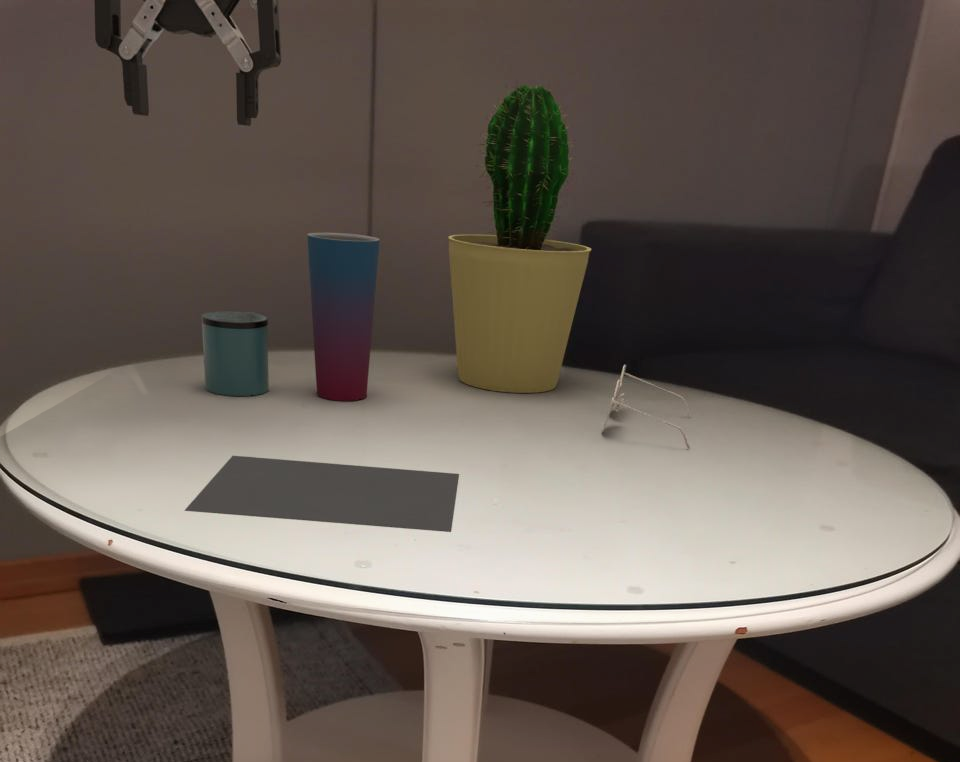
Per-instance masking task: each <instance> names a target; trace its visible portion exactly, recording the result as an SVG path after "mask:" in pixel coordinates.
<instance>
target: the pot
mask: <svg viewBox="0 0 960 762" xmlns="http://www.w3.org/2000/svg"><path fill="white" fill-rule="evenodd" d="M200 318H201V319H200V321H201V327H202V330H201V332H202V346H203V347H202V348H203V349H202V350H203V366H204V387H205V390H206V391H208V392H210V393H213V394H216V395H222V396H228V397H252V396H251V395H253V396H258V395H259V394H260V395H263V394H266V393H267V392H269V388H270V387H269V385H270V383H269V342H268V338H269V337H268V325H269V320H268V317H267V316H265V315H262V314H259V313H258V312H257V311H253V310H252V311H249V312H248V311H247V312H246V311H231V310H229V311H228V310H227V311H226V310H224V311H223V310H222V311H210V312H205V313H202V314H201V315H200Z"/></svg>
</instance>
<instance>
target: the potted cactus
mask: <svg viewBox="0 0 960 762" xmlns="http://www.w3.org/2000/svg"><path fill="white" fill-rule="evenodd" d="M515 80H516V83H518V81H517V79H515ZM548 82H550V79H549V81H548ZM516 83H513V84H514V85H513V86H514V87H513V88H514V91H512V92H511V93H510V92H509V89H508V87H507V86H506V85H505V88H506V92H507V95H508V96H506V97H504V98H502V97H501V95H500V94H498V96H497V99H498V101H499V103H500V105H499V106H496V105H495V104H494V103H492V105H494V107H495V108H497V109H496V112H495V113H494V114H493V113H491V112H490V111H488V110H487V111H488V113H489V115H491V118H490V117H489V115H488V114H486V115H487V116H486V115H485V118H486V119H485V118H484V121H485V122H486V123H487V124H488V125H487V132H485V131H483V133H479V132H478V134H479V135H480V136H482V137H483V138H486V139H485V141H484V143H479V145H481V146H477V147H478V148H482V149H485V150H478V152H479V153H480V152H481V154H482V155H481V154H480V155H479V156H478V157H484V162H483V163H479V164H477V165H476V168H479V167H482V166H483V168H481V170H483V171H484V172H483V173H482V174H481V175H480V177H483V178H485V179H487V178H488V180H490V181H491V182H490V183H489V186H487V189H488V190H490V188H491V187H492V189H493V190H492V199H491V200H489V201H484V202H481V203H485V204H486V205H485V207H486V208H487V207H488V206H491V205H492V203H493V208H492V209H493V218H489V219H488V220H494V222H491V223H490V224H489V225H493V224H494V227H495V228H494V229H492V230H491V231H490V232H487V234H453V235H449V236H448V237H447V238H448V257H449V258H448V259H449V267H450V268H449V271H450V281H451V295H452V309H453V323H454V325H453V326H454V336H455V337H454V339H455V350H456V353H455V354H456V365H457V366H456V367H457V374H458V375H457V376H458V380H459V381H461V382H462V383H463V384H466V385H468V386H472V387H474V388H479V389H483V390H487V391H493V392H501V393H512V394H514V393H516V394H517V393H519V394H531V393H532V394H535V393H544V392H548V391H552V390H554V389H556V388H557V385H558V382H559V377H560V374H561V369H562V365H563V361H564V358H565V353H566V349H567V345H568V341H569V337H570V333H571V330H572V326H573V321H574V318H575V317H574V316H575V314H576V309H577V306H578V302H579V298H580V294H581V290H582V287H583V282H584V279H585V275H586V271H587V267H588V263H589V258H590V253H591V252H592V248H591V247H588V246H586V245H582V244H577V243H572V242H566V241H558V240H552V239H548V238H547V236H549V234H548V233H549V232H550V233H551V234H553V235H554V236H555V237H557V235H556V234H554V233H555V232H556V233H557V231H555V229H553V228H551V226H553V227H556V228H557V226H555V225H554V224H553V222H557V223H560V224H561V222H558V221H557V220H556V219H554V218H560V217H559V216H556V215H555V214H556V213H557V211H556V209H558V208H559V209H562V207H561V206H559V205H558V201H559V198H561V197H564V196H563V195H566V197H567V198H569V196H568V195H567V194H566V193H567V189H566V188H565V187H564V186H563V185H564V183H565V182H568V180H567V179H569V180H570V181H572V182H574V180H572V179H573V177H571V176H570V175H572V176H574V173H573V172H571V173H570V172H569V171H570V169H569V163H570V162H571V161H572V160H573V159H574V158H576V157H578V155H575V156H573V157H570V158H569V153H570V150H569V148H573V147H576V146H577V144H575V143H573V142H574V141H575V142H576V140H577V139H574V140H572V141H569V140H568V139H569V137H568V133H569V132H570V130H567V129H568V128H570V126H572V125H573V123H571V124H570V125H567V127H566V124H565V122H564V121H563V120H562V119H563V118H565V117H567V116H569V115H573V114H574V113H570V114H569V113H566V114H562V112H564V111H566V110H568V109H569V107H568V106H567V107H565V108H564V107H563V104H560V105H559V104H558V103H557V102H556V100H557V99H558V97H555V99H554V93H555V91H556V90H553V91H551V89H552V88H553V86H550V84H547V86H546V87H547V88H544V86H542V85H539V86H538V85H537V83H535V84H536V87H535V85H532V87H530V86H529V85H527V84H523V85H520V87H517V85H516ZM562 108H563V109H562ZM567 119H568V118H567ZM567 119H566V120H567ZM484 134H485V135H487V136H485V135H484ZM571 143H573V144H571ZM569 144H570V145H569ZM484 153H485V154H484ZM483 154H484V155H483ZM484 182H485V183H486V182H487V180H485V181H484ZM568 185H570V183H568ZM560 191H562V192H563V193H562V192H560ZM565 192H566V193H565ZM559 196H561V197H559ZM487 203H489V204H488V205H487ZM494 230H496V231H495V232H496V235H495V234H494V235H493V234H491V233H492V232H494ZM553 232H554V233H553ZM488 233H490V234H488Z"/></svg>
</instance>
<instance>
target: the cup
mask: <svg viewBox="0 0 960 762" xmlns="http://www.w3.org/2000/svg"><path fill="white" fill-rule="evenodd" d="M306 236H307V237H306V238H307V239H306V240H307V254H308V255H307V256H308V267H309V268H308V270H309V285H310V302H311V303H310V304H311V321H312V335H313V337H312V338H313V351H314V368H315V383H316V385H315V386H316V387H315V388H316V395H317V396H318V397H320V398H321V399H325V400H330V401H336V402H354V401H360V400H359V399H361V400H364V399H365V397H366V398H367V397H368V384H369V383H368V382H369V372H370V370H369V369H370V360H371V359H370V358H371V348H372V347H371V346H372V337H373V336H372V335H373V325H374V311H375V300H376V299H375V298H376V287H377V276H378V264H379V263H378V262H379V253H380V251H379V249H380V238H378V237H375V236H369V235H364V234H363V235H362V234H356V233H355V234H354V233H344V232H310V233H307V235H306ZM363 398H364V399H363Z"/></svg>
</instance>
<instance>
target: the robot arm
mask: <svg viewBox="0 0 960 762" xmlns="http://www.w3.org/2000/svg"><path fill="white" fill-rule="evenodd" d="M142 1H143V3H142V6H141V7H140V9H139V10H138V12H137V13H136V15H135V16H134V18H133V20H132V21H131V26H130V28H129V30H128V31H127V33H126V35H125V37H124V38H123V37H122V25H121V23H122V20H121V18H122V17H121V16H122V15H121V14H122V13H121V10H122V9H121V0H94V31H95V32H94V36H95V37H94V39H95V40H94V41H95V43H96V45H97V46H98V47H99V48H100V49H104V50H106V51H108V52H110V53H112V54H114V55H116V56H117V57H118V58H119V60H120V61H121V67H122V81H123V98H124V101H125V104H126V106H128V107H131V111H132V114H133V115H135V116H145V117H148V116H149V113H150V106H149V87H148V69H147V67H148V66H147V64H144V63H143V62H144V61H143V60H144V58H145V56H146V55H147V53H148V52H149V50H150V49H151V47H152V46H153V44H154V43H155V42H157V40H158V39H159V38H160V37H161V36H162V34H163V32H164V30H165V31H166V32H169V33H170V34H175V35H187V34H191V33H192V34H196V35H198V36H200V37H204V38H213V36H216V35H217V36H218V39H219V40H220V42H222V44H223V46H224V47H225V48H226V49H227V50H228V52H229V54H230V55H231V57H232V59H233V60H234V62H235V63H236V65H237V66H238V68H239V69H238V70H239V72H235V85H236V87H235V88H236V89H235V90H236V92H235V93H236V122H237V125H238V126H246V127H247V126H249V127H251V125H252V119H257V117H258V115H259V77H260V75H261V73H262V72H264V71H266V70H269V69H271V68H278V67H279V66H280V65H281V63H282V50H281V31H280V11H279V0H248V4H249V6H250V8H251V9H252V10H254V12H255V11H256V12H257V24H258V25H257V26H258V27H257V28H258V40H259V42H258V44H259V50H256V51H254V52H253V51H252V50H251V48H250V47H249V45H248V43H247V41H246V39H245V37H244V36H243V34H242V32H241V31H240V28H238V26H237V24H236V22H235V21H234V19H233V17H232V16H231V15H232V14H233V12H234V10H235V9H236V7H237V6H238V5H239V2H240V1H241V0H142Z"/></svg>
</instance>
